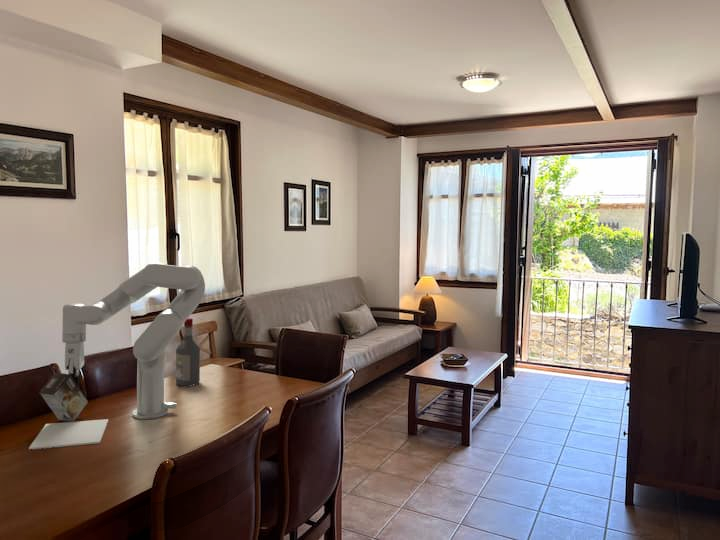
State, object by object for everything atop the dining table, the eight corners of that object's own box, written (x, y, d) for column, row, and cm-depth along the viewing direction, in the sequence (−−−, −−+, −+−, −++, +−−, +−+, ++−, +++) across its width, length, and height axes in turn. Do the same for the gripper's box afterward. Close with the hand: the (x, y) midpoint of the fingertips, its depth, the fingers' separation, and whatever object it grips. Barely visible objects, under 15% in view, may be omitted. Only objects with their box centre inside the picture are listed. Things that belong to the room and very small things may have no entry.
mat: (108, 420, 191) (108, 419, 191) (99, 443, 170) (99, 441, 170) (45, 425, 184) (45, 423, 184) (28, 449, 163) (28, 447, 163)
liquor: (186, 387, 235) (186, 321, 233) (173, 384, 240) (173, 319, 238) (202, 383, 243) (203, 319, 241) (189, 379, 248) (190, 317, 246)
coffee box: (73, 400, 197) (55, 371, 187) (88, 401, 195) (70, 373, 185) (58, 420, 190) (38, 392, 180) (73, 422, 188) (54, 394, 178)
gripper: (81, 341, 185) (81, 392, 186) (89, 333, 200) (88, 381, 201) (57, 341, 183) (57, 393, 184) (67, 333, 197) (66, 382, 198)
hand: (73, 386), depth 192 cm, fingers closed
